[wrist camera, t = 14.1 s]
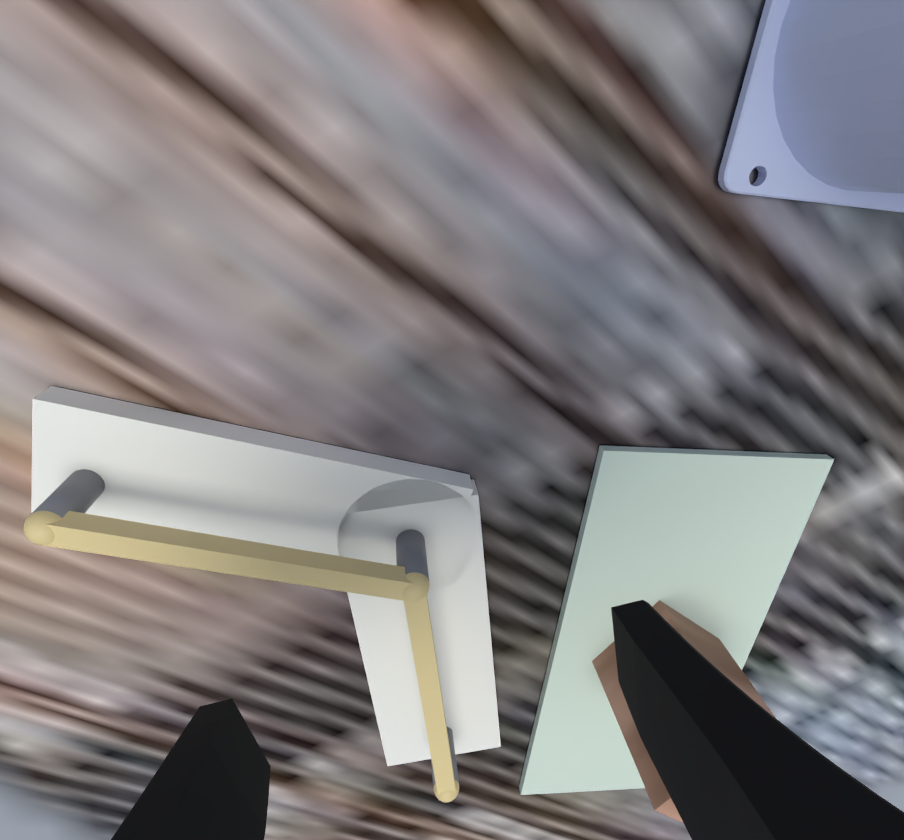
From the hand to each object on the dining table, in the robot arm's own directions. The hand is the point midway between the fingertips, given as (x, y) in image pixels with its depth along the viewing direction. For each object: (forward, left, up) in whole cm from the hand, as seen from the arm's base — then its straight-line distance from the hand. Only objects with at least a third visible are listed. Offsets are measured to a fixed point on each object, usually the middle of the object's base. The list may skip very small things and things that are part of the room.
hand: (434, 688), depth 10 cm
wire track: (+4, +7, -9) cm, 12 cm away
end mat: (-11, +9, -9) cm, 17 cm away
